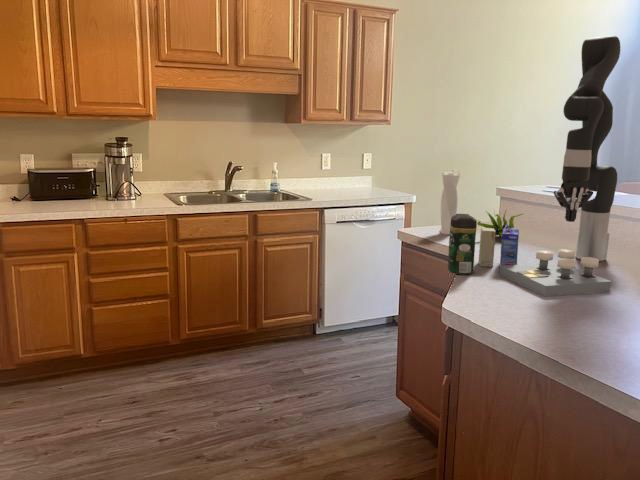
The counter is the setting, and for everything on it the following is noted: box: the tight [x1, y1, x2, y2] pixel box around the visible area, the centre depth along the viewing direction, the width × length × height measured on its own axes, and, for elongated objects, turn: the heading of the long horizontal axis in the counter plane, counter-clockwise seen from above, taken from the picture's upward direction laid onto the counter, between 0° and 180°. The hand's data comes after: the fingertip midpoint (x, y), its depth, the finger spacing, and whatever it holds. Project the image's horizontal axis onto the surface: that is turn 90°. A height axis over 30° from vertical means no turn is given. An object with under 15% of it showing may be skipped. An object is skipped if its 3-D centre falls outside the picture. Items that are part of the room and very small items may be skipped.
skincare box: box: [478, 227, 496, 268], centre depth 187 cm, size 6×4×12 cm
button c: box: [535, 250, 554, 269], centre depth 172 cm, size 5×5×5 cm
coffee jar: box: [447, 213, 478, 276], centre depth 177 cm, size 10×8×19 cm
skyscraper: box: [439, 168, 461, 236], centre depth 237 cm, size 8×8×28 cm
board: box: [499, 262, 612, 297], centre depth 168 cm, size 22×22×3 cm
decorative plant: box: [476, 209, 525, 244], centre depth 220 cm, size 18×30×15 cm, turn 138°
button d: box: [557, 258, 577, 278], centre depth 163 cm, size 5×5×5 cm
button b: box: [579, 257, 600, 276], centre depth 165 cm, size 5×5×5 cm
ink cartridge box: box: [499, 223, 520, 270], centre depth 185 cm, size 10×6×14 cm, turn 161°
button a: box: [557, 248, 576, 260], centre depth 174 cm, size 5×5×5 cm
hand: (570, 221), depth 172 cm, fingers closed
